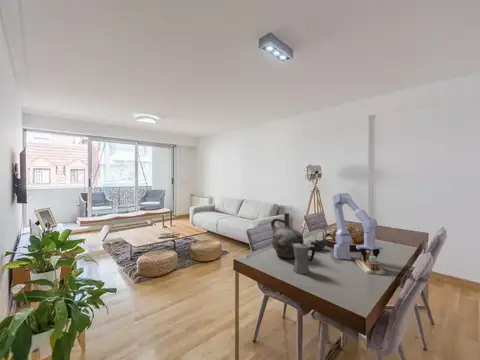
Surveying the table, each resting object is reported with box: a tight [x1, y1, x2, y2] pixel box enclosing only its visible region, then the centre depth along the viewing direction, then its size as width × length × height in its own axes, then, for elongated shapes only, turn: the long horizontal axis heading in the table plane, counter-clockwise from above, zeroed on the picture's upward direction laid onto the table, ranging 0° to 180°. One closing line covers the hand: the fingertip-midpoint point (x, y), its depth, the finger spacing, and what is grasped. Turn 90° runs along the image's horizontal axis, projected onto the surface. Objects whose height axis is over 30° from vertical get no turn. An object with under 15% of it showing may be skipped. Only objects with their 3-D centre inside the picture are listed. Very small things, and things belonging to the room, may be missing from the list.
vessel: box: [270, 212, 305, 259], centre depth 159 cm, size 24×22×30 cm
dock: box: [354, 258, 387, 275], centre depth 139 cm, size 10×18×2 cm, turn 173°
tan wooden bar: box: [359, 253, 381, 271], centre depth 139 cm, size 16×5×4 cm, turn 173°
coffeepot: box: [291, 240, 316, 275], centre depth 133 cm, size 15×9×18 cm, turn 43°
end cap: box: [310, 239, 326, 252], centre depth 171 cm, size 10×7×7 cm
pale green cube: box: [368, 254, 377, 262], centre depth 134 cm, size 3×3×3 cm
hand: (369, 261), depth 139 cm, fingers closed on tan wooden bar, 5 cm apart
